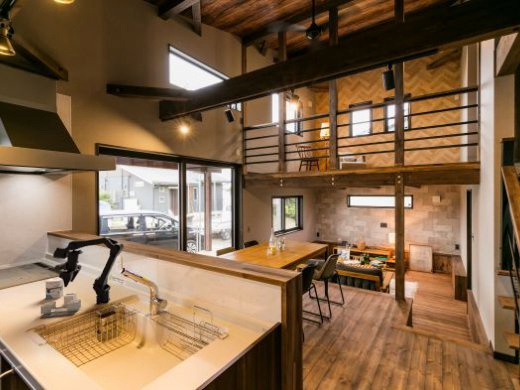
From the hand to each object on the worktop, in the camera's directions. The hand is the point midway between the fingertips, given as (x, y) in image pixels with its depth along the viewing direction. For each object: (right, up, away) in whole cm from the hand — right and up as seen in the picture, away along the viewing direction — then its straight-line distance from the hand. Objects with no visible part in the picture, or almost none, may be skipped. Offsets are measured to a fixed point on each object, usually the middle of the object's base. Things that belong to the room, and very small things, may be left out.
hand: (68, 284), depth 171 cm
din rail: (+4, -12, -12) cm, 18 cm away
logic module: (+1, -12, +1) cm, 12 cm away
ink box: (-17, -12, +11) cm, 24 cm away
